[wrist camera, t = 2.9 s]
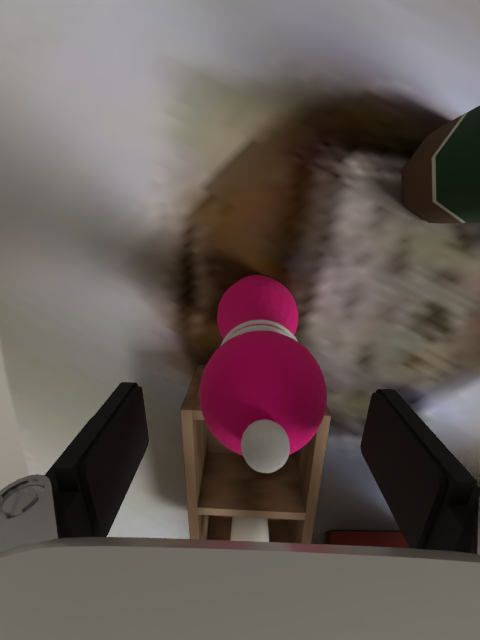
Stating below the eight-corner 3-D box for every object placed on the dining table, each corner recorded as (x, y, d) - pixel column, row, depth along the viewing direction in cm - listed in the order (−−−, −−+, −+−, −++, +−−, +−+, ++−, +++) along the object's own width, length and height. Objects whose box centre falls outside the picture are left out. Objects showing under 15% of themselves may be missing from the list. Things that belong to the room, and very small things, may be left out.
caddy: (310, 368, 30) (331, 415, 22) (293, 519, 38) (303, 591, 30) (198, 364, 30) (180, 409, 23) (204, 514, 38) (193, 584, 31)
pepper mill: (239, 257, 26) (208, 331, 7) (303, 287, 27) (426, 427, 8) (211, 318, 28) (132, 497, 9) (271, 345, 29) (307, 560, 10)
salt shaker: (267, 480, 34) (273, 588, 24) (265, 503, 36) (271, 615, 25) (233, 478, 35) (226, 585, 24) (233, 502, 36) (226, 612, 26)
